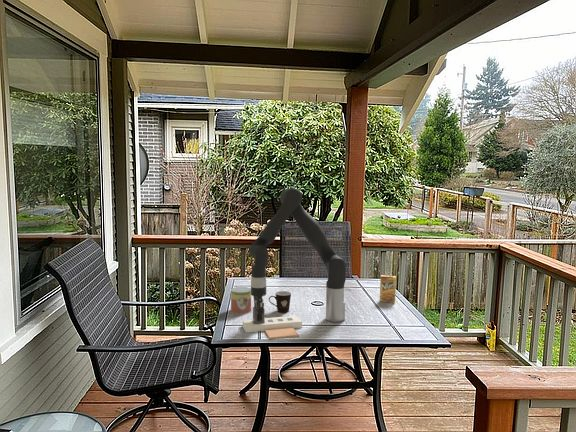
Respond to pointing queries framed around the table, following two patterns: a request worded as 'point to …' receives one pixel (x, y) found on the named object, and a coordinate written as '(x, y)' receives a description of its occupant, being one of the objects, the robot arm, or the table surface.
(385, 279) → the candy box
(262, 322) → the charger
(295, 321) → the power strip
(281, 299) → the coffee mug
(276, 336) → the mat
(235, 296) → the canned food
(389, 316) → the table surface
